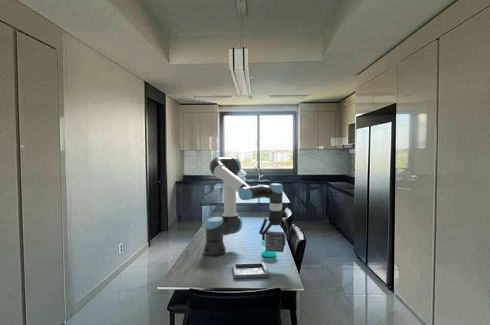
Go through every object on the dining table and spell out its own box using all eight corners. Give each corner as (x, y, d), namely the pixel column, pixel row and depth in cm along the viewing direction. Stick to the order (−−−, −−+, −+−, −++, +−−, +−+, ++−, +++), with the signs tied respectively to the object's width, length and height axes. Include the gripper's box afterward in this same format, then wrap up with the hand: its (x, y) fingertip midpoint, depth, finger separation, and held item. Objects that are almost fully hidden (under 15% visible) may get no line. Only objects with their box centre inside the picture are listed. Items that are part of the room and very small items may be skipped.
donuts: (270, 243, 207) (258, 240, 213) (270, 258, 208) (258, 255, 214) (279, 240, 215) (267, 237, 221) (279, 254, 215) (267, 251, 222)
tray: (234, 279, 176) (234, 274, 176) (232, 267, 193) (232, 263, 192) (268, 278, 178) (268, 273, 177) (263, 266, 195) (264, 262, 194)
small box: (284, 248, 195) (284, 231, 195) (282, 252, 189) (283, 235, 188) (267, 247, 198) (267, 230, 197) (265, 250, 192) (265, 233, 191)
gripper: (256, 211, 187) (255, 247, 188) (297, 211, 189) (295, 247, 191) (255, 208, 194) (254, 243, 196) (293, 208, 197) (292, 243, 198)
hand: (274, 245), depth 193 cm, fingers closed on small box, 12 cm apart
